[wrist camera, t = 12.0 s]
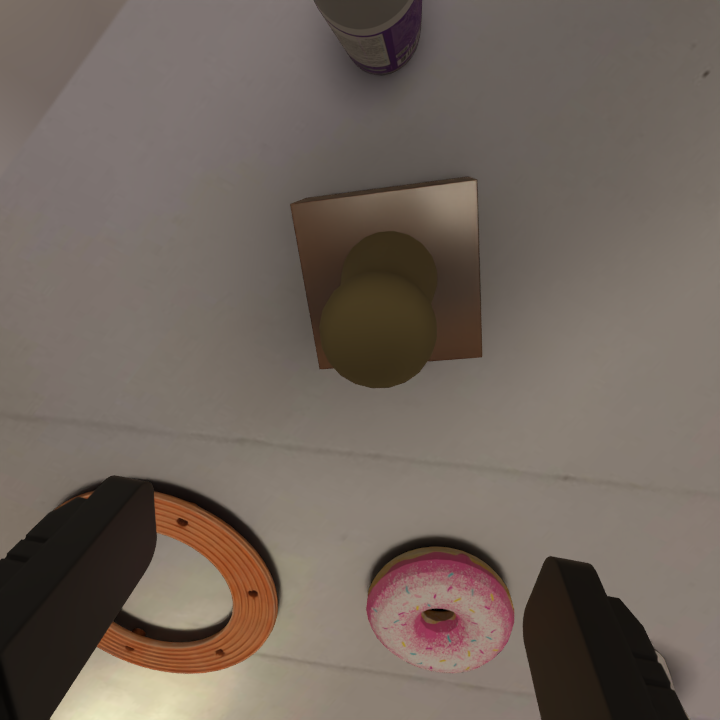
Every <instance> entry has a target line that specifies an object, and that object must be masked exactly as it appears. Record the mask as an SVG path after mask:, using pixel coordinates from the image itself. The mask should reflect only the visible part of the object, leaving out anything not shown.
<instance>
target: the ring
mask: <svg viewBox="0 0 720 720" xmlns="http://www.w3.org/2000/svg"><path fill="white" fill-rule="evenodd" d="M93 492H94V491H91V492H87V493H84V494H81V495H79V496H76V497H82V498H88V497H89V496H90V495H91V494H92V493H93ZM76 497H74V498H76ZM74 498H72V499H70V500H68V501H66V502H65V503H63V504H62V505H64V504H66V503H67V502H69V501H71V500H73V499H74ZM154 502H155V517H156V532H157V533H159V534H163V535H166V536H169V537H171V538H174V539H176V540H179V541H181V542H183V543H185V544H187V545H188V546H190V547H192V548H193V549H195V550H196V551H198V552H199V553H201V554H202V555H203V556H204V557H206V558H207V559H208V560H209V561H210V562H211V563H212V564H213V565H214V566H215V567H216V568H217V569H218V570H219V572H220V573H221V574H222V576H223V577H224V579H225V580H226V582H227V584H228V586H229V589H230V591H231V594H232V599H233V611H232V615H231V618H230V620H229V622H228V624H227V625H226V626H225V627H224V628H223V629H222V630H221V631H219V632H218V633H216V634H214V635H212V636H210V637H208V638H205V639H202V640H198V641H193V642H181V643H180V642H166V641H159V640H155V639H151V638H147V637H145V636H146V633H145V632H144V631H143V630H142V629H139V628H135V629H133V630H132V632H131V631H129V630H127V629H125V628H123V627H121V626H120V625H118V624H116V623H115V622H112V624H111V625H110V627H109V628H108V630H107V631H106V633H105V634H104V636H103V638H102V639H101V641H100V642H99V644H98V645H97V647H98V648H100V649H102V650H103V651H105V652H107V653H109V654H111V655H113V656H115V657H117V658H120V659H122V660H125V661H127V662H130V663H133V664H135V665H138V666H142V667H145V668H149V669H153V670H158V671H164V672H171V673H185V674H192V673H206V672H212V671H218V670H221V669H225V668H228V667H231V666H233V665H236V664H238V663H240V662H242V661H244V660H245V659H247V658H249V657H250V656H251V655H253V654H254V653H255V652H256V651H257V650H258V649H259V648H260V647H261V646H262V645H263V644H264V642H265V641H266V640H267V638H268V637H269V635H270V633H271V632H272V630H273V627H274V625H275V621H276V618H277V613H278V596H277V591H276V587H275V584H274V581H273V578H272V576H271V574H270V572H269V570H268V568H267V566H266V564H265V563H264V561H263V560H262V558H261V557H260V555H259V554H258V553H257V552H256V550H255V549H254V548H253V547H252V546H251V545H250V544H249V543H248V541H247V540H246V539H245V538H244V537H242V536H241V535H240V534H239V533H238V532H237V531H236V530H235V529H233V528H232V527H231V526H230V525H228V524H227V523H226V522H224V521H223V520H221V519H220V518H218V517H217V516H215V515H213V514H212V513H210V512H208V511H206V510H204V509H202V508H200V507H199V506H198V505H197V504H195V503H193V502H187V501H185V500H182V499H180V498H177V497H174V496H171V495H167V494H164V493H160V492H155V491H154ZM62 505H60V506H62ZM60 506H59V507H60ZM59 507H57V508H59ZM57 508H56V509H57ZM54 510H55V509H54Z"/></svg>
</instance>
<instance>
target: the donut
mask: <svg viewBox="0 0 720 720" xmlns="http://www.w3.org/2000/svg"><path fill="white" fill-rule="evenodd" d="M436 608H440V609H446V610H448V611H432V610H429V609H436ZM366 610H367V615H368V620H369V622H370V625H371V627H372V629H373V631H374V633H375V635H376V636H377V638H378V639H379V640H380V641H381V643H382V644H383V645H384V646H385V647H386V648H388V649H389V650H390V651H391V652H392V653H394V654H395V655H396V656H398V657H399V658H401V659H403V660H404V661H406V662H408V663H410V664H412V665H414V666H417V667H419V668H423V669H426V670H430V671H435V672H442V673H459V672H466V671H470V670H473V669H476V668H478V667H480V666H482V665H484V664H485V663H487V662H489V661H490V660H492V659H493V658H494V657H495V656H496V655H498V654H499V653H500V652H501V651H502V649H503V648H504V646H505V645H506V644H507V642H508V640H509V637H510V634H511V631H512V627H513V624H514V608H513V604H512V600H511V597H510V593H509V590H508V588H507V587H506V585H505V584H504V582H503V581H502V579H501V578H500V577H499V576H498V575H497V573H496V572H495V571H494V570H493V569H492V568H491V567H489V566H488V565H487V564H486V563H485V562H483V561H482V560H480V559H479V558H477V557H475V556H473V555H471V554H469V553H466V552H464V551H461V550H457V549H453V548H448V547H425V548H419V549H415V550H412V551H408V552H406V553H403V554H401V555H399V556H397V557H395V558H394V559H392V560H391V561H390V562H388V563H387V564H386V565H385V566H384V567H383V568H382V569H381V570H380V572H379V573H378V574H377V575H376V577H375V578H374V579H373V582H372V584H371V586H370V588H369V591H368V599H367V608H366Z"/></svg>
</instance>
